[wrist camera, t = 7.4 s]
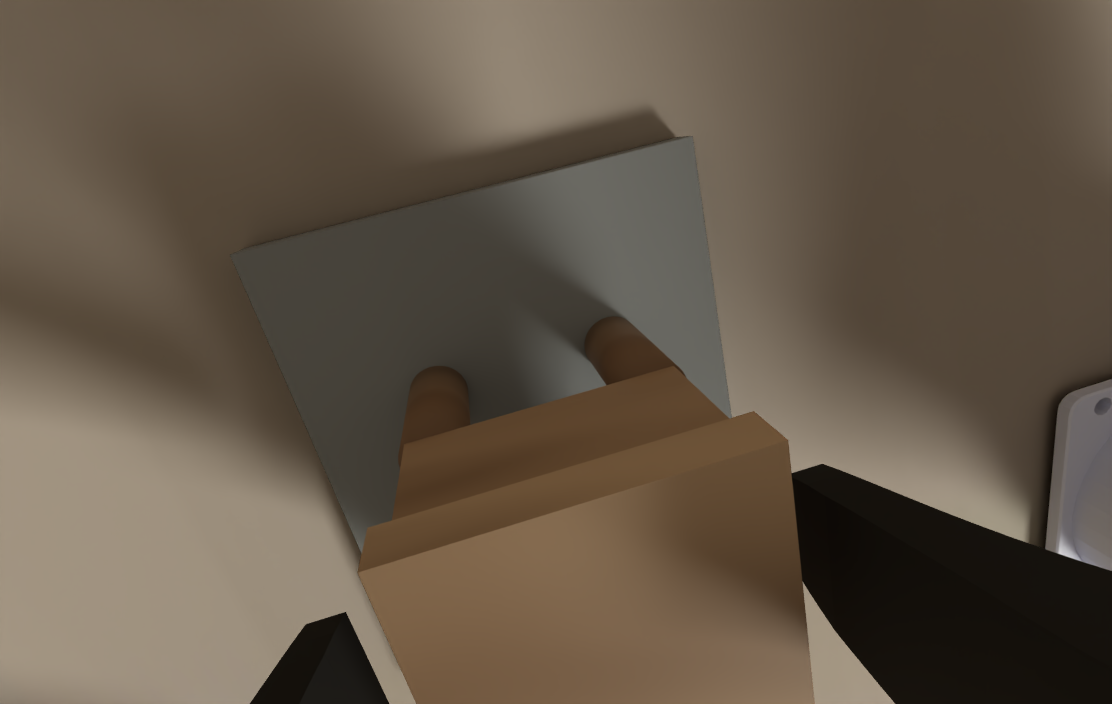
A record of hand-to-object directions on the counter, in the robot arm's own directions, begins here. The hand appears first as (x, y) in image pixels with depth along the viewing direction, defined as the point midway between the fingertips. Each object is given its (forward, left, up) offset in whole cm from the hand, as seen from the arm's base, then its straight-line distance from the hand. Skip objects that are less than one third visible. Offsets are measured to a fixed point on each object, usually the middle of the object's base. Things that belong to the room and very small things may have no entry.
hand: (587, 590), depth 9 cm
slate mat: (0, 0, -5) cm, 5 cm away
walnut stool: (0, 0, -4) cm, 4 cm away
